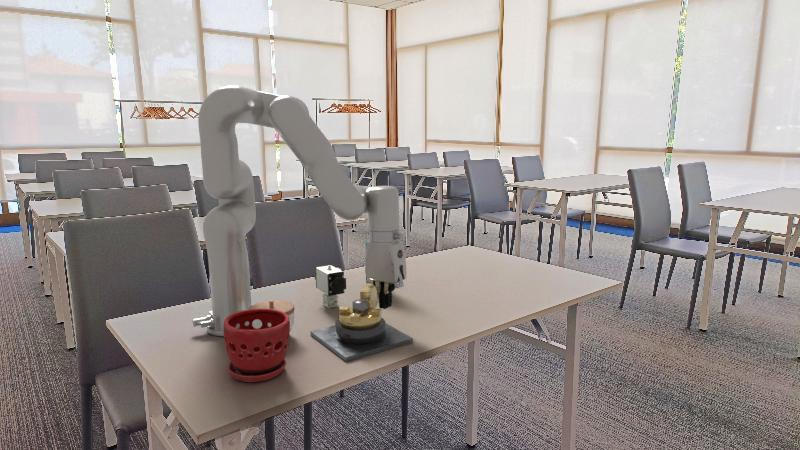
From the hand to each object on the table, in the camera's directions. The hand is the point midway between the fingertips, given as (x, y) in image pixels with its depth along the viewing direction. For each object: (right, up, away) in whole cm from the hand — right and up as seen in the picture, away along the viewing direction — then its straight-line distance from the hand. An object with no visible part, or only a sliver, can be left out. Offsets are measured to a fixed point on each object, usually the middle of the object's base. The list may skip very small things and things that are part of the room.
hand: (385, 306), depth 132 cm
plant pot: (-26, -10, -23) cm, 36 cm away
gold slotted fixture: (-5, -2, -4) cm, 7 cm away
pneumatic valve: (-16, -3, +17) cm, 23 cm away
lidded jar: (-27, -7, -5) cm, 28 cm away
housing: (-6, -7, -6) cm, 11 cm away
